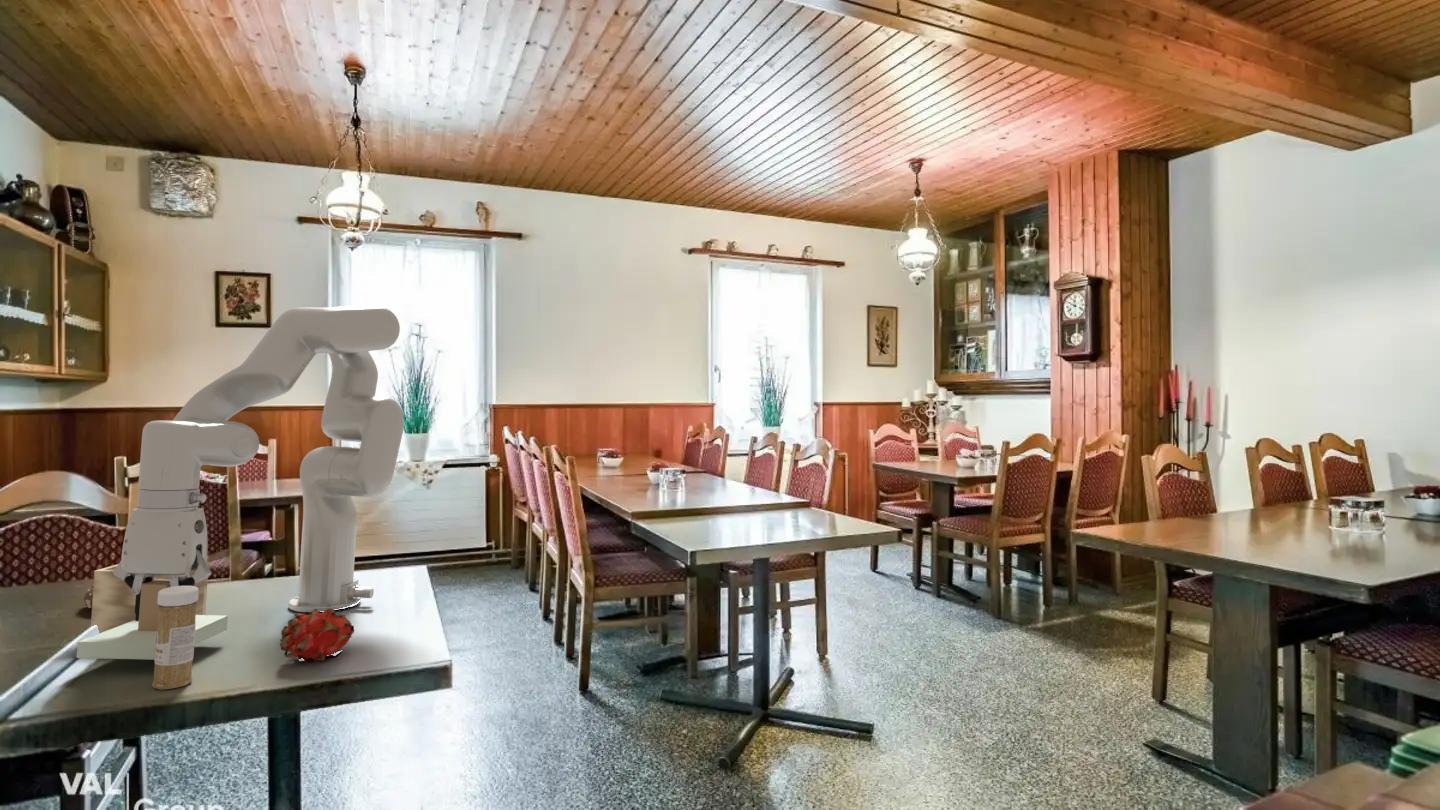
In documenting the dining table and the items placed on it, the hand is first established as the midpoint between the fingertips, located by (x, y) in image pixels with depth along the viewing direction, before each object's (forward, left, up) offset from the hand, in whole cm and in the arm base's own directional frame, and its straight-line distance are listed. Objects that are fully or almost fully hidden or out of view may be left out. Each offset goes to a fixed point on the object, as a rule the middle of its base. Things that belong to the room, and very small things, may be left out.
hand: (159, 618), depth 109 cm
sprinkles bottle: (-9, +11, -6) cm, 15 cm away
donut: (+23, -28, -6) cm, 37 cm away
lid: (0, 0, -4) cm, 4 cm away
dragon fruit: (-23, -1, -6) cm, 24 cm away
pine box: (+11, -15, -6) cm, 20 cm away
